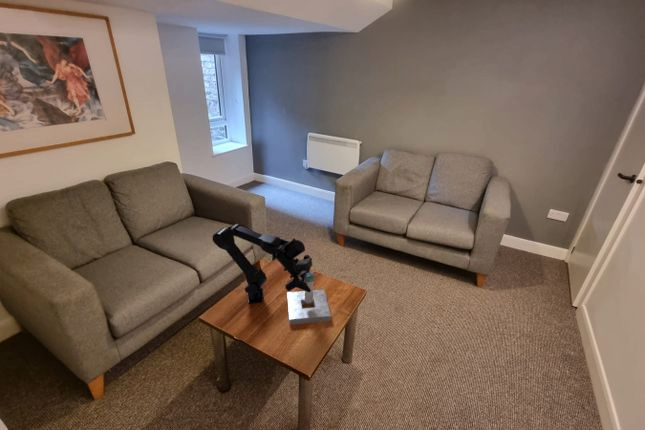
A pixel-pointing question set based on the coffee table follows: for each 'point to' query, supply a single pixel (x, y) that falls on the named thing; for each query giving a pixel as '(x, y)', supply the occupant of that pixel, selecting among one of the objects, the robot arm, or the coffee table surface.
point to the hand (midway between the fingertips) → (311, 288)
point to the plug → (310, 283)
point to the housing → (308, 314)
